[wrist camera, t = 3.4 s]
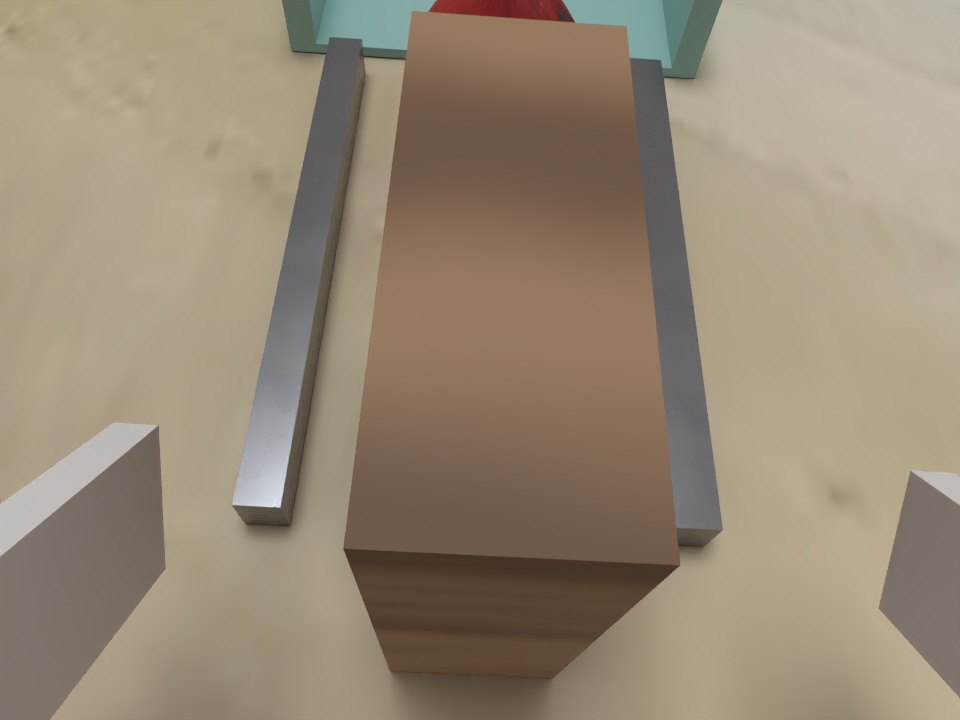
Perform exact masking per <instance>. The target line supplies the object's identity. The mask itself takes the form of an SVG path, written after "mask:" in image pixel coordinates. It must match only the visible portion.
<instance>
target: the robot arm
mask: <svg viewBox="0 0 960 720" xmlns="http://www.w3.org/2000/svg"><path fill="white" fill-rule="evenodd" d="M164 570H165V550H164V529H163V508H162V487H161V465H160V444H159V425H145V424H129V423H112V424H111V425H110V426H108V427H107V428H105V429H104V430H103V431H101V432H100V433H98V434H97V435H96V436H94V437H93V438H91V439H90V440H89V441H87V442H86V443H85V444H83V445H82V446H80V447H79V448H78V449H76V450H75V451H73V452H72V453H71V454H69V455H68V456H66V457H65V458H64V459H62V460H61V461H59V462H58V463H57V464H55V465H54V466H52V467H51V468H50V469H48V470H47V471H46V472H44V473H43V474H41V475H40V476H39V477H37V478H36V479H34V480H33V481H32V482H30V483H29V484H27V485H26V486H25V487H23V488H22V489H20V490H19V491H18V492H16V493H15V494H13V495H12V496H11V497H9V498H8V499H7V500H5V501H4V502H2V503H1V504H0V720H50V719H51V718H52V716H53V715H54V714H55V712H56V711H57V710H58V708H59V707H60V706H61V704H62V703H63V702H64V701H65V699H66V698H67V697H68V695H69V694H70V693H71V691H72V690H73V689H74V687H75V686H76V685H77V684H78V682H79V681H80V680H81V678H82V677H83V676H84V674H85V673H86V672H87V670H88V669H89V668H90V667H91V665H92V664H93V663H94V661H95V660H96V659H97V657H98V656H99V655H100V653H101V652H102V651H103V650H104V648H105V647H106V646H107V644H108V643H109V642H110V640H111V639H112V638H113V636H114V635H115V634H116V632H117V631H118V630H119V629H120V627H121V626H122V625H123V623H124V622H125V621H126V619H127V618H128V617H129V615H130V614H131V613H132V612H133V610H134V609H135V608H136V606H137V605H138V604H139V602H140V601H141V600H142V598H143V597H144V596H145V595H146V593H147V592H148V591H149V589H150V588H151V587H152V585H153V584H154V583H155V581H156V580H157V579H158V578H159V576H160V575H161V574H162V572H163V571H164ZM879 609H880V610H881V612H882V613H883V614H884V615H885V616H886V617H887V618H888V619H889V620H890V621H891V623H892V624H893V625H894V626H895V627H896V628H897V629H898V630H899V631H900V632H901V634H902V635H903V636H904V637H905V638H906V639H907V640H908V641H909V642H910V644H911V645H912V646H913V647H914V648H915V649H916V650H917V651H918V652H919V653H920V655H921V656H922V657H923V658H924V659H925V660H926V661H927V662H928V663H929V664H930V666H931V667H932V668H933V669H934V670H935V671H936V672H937V673H938V674H939V676H940V677H941V678H942V679H943V680H944V681H945V682H946V683H947V684H948V685H949V687H950V688H951V689H952V690H953V691H954V692H955V693H956V694H957V695H958V696H959V698H960V477H959V476H957V475H955V474H954V473H942V472H925V471H910V476H909V480H908V484H907V488H906V493H905V497H904V501H903V506H902V510H901V514H900V519H899V523H898V527H897V531H896V536H895V540H894V544H893V549H892V553H891V557H890V562H889V566H888V570H887V575H886V579H885V583H884V587H883V592H882V596H881V600H880V605H879Z"/></svg>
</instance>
